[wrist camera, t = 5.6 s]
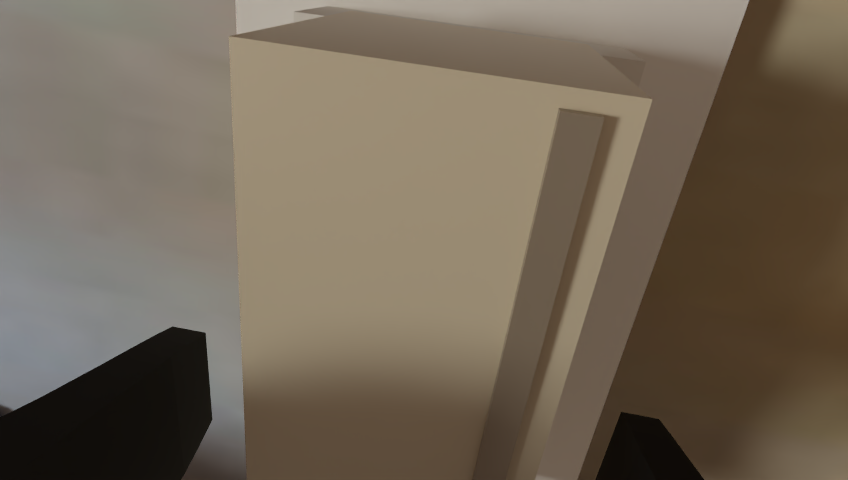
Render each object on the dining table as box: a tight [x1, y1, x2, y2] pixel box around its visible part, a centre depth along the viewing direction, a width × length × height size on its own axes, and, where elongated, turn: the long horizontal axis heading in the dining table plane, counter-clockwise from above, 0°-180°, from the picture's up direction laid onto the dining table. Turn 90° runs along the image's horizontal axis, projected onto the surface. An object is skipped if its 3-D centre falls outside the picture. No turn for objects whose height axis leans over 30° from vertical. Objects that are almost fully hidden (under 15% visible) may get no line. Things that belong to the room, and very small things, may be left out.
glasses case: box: [229, 11, 653, 480], centre depth 10 cm, size 12×4×5 cm, turn 173°
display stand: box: [235, 0, 749, 480], centre depth 13 cm, size 15×10×3 cm, turn 173°
